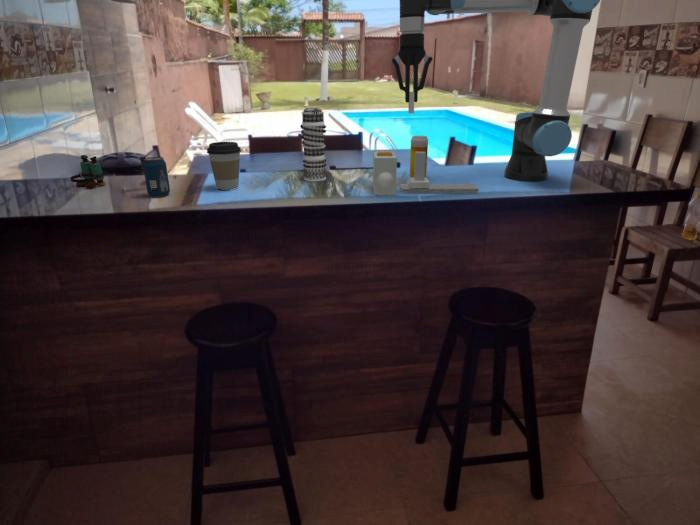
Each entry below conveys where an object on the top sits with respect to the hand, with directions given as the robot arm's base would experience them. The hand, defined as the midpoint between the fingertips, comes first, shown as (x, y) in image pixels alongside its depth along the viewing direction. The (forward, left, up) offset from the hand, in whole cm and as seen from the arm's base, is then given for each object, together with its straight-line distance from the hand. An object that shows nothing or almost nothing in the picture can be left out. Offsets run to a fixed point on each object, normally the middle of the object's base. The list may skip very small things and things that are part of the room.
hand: (411, 113), depth 162 cm
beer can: (-5, -14, -25) cm, 29 cm away
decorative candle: (+33, -13, -25) cm, 44 cm away
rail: (-9, +6, -25) cm, 27 cm away
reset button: (+9, +6, -16) cm, 19 cm away
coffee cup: (+62, +1, -25) cm, 67 cm away
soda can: (+82, +11, -25) cm, 86 cm away
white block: (+9, +6, -25) cm, 27 cm away
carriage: (-3, +6, -23) cm, 24 cm away
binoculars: (+111, -1, -25) cm, 114 cm away
